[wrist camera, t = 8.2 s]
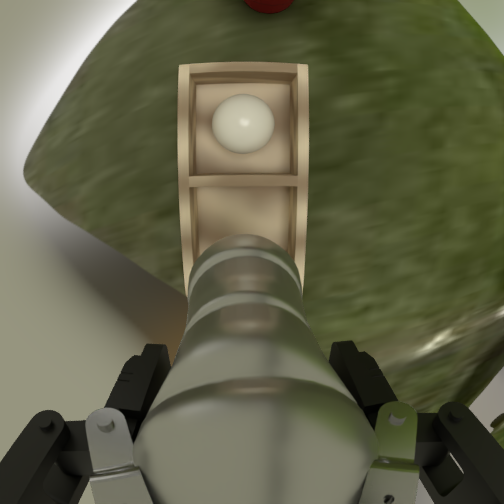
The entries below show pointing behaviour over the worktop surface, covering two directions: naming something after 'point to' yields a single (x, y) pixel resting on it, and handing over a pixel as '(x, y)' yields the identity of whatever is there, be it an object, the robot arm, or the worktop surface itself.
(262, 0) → the plastic cup
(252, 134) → the white ball
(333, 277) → the worktop surface
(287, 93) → the crate
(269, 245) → the plastic bottle
